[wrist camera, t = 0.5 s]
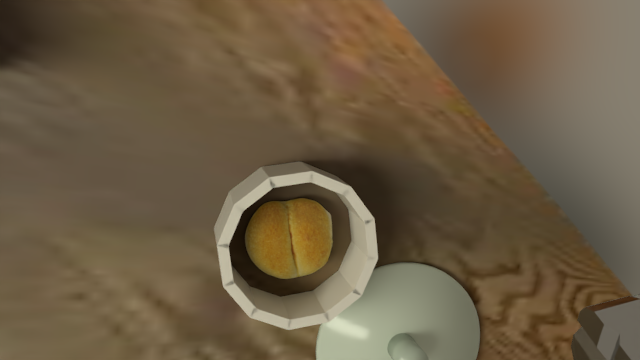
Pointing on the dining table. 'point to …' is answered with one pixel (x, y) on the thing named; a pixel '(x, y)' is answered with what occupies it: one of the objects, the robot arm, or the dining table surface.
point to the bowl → (331, 292)
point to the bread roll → (289, 237)
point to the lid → (404, 319)
